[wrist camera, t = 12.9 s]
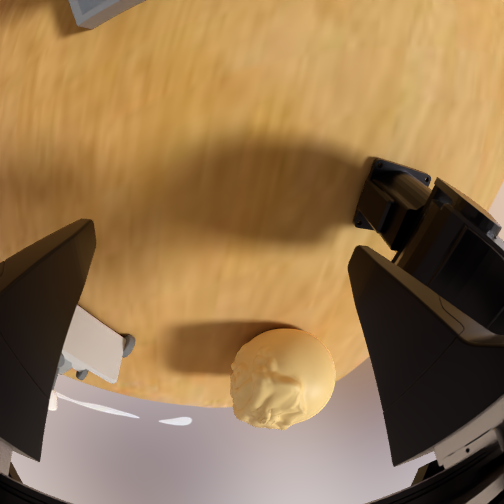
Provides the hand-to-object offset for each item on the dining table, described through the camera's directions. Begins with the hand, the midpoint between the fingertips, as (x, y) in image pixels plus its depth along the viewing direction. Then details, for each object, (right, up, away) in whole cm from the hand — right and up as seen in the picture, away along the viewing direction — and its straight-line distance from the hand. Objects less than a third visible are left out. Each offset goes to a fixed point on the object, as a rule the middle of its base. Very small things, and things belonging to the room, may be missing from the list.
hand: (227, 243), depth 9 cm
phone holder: (-24, -11, +22) cm, 34 cm away
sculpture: (+4, -12, +25) cm, 28 cm away
